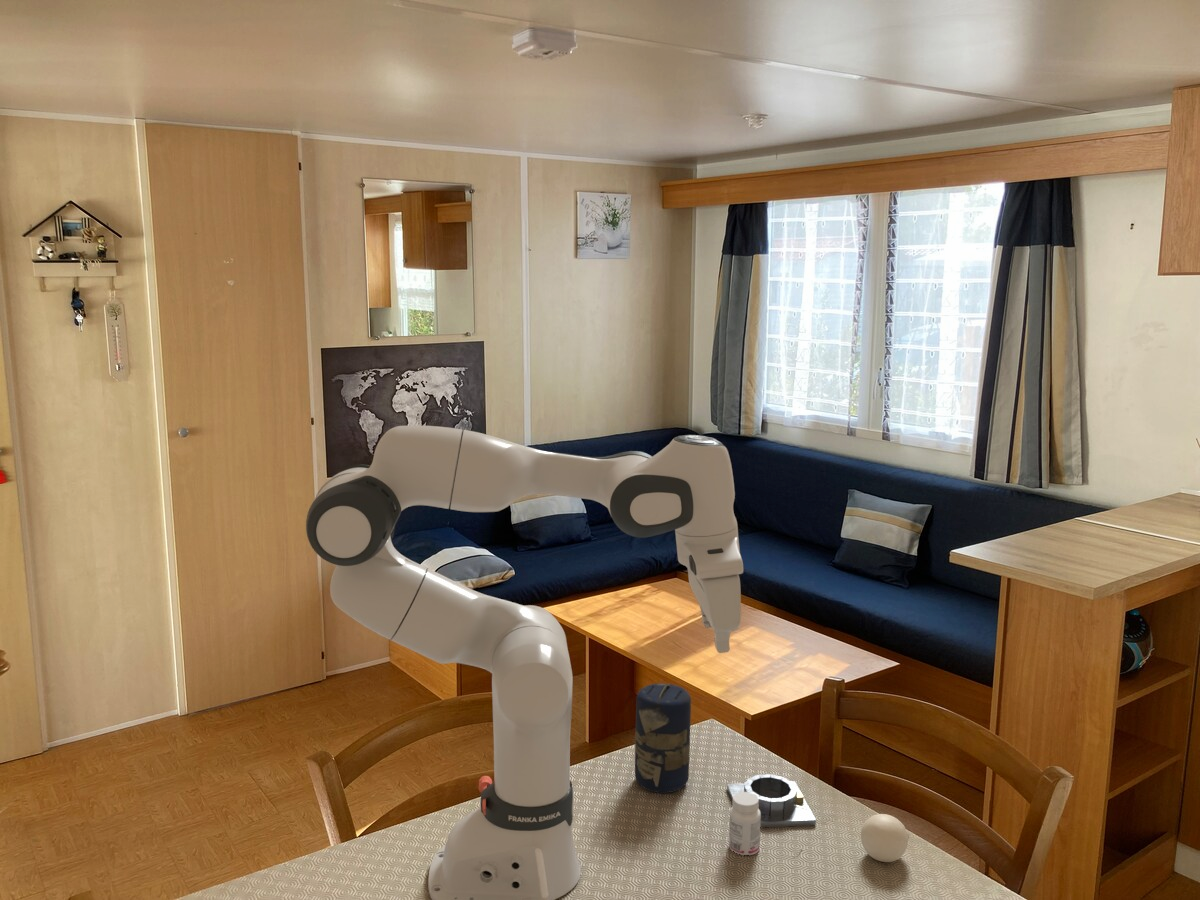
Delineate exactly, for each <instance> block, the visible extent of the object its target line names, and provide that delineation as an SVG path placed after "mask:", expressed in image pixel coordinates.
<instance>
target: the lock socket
mask: <svg viewBox="0 0 1200 900" xmlns="http://www.w3.org/2000/svg"><path fill="white" fill-rule="evenodd" d="M726 790H727V793H728V795H729V797H731V798H730V800H731V802H732V801H733V796H734V795H735V794H736V793H739V792H749V793H752V794H754V795H756V796H757V797H758V799H759V807H758V809H759V810H760V813H761V823H760V827H771V828H790V827H789V826H794V827H811V826H812V825H816V823H817V820H816V817H815V816H814V814H813V812H812V810H811V808H810V807H809V804H808V803H807V801H806V799H805V797H804V794H803V793H802V792H801V789H800V788H799V786H798V784H797V782H796V781H795V780H789V779H788V778H786V777H784V776H780V775H776V774H769V773H767V774H755V775H754V776H751V777H748V778H747V780H746V781H745V782H739V783H735V782H734V783H733V782H732V783H727V784H726ZM810 825H811V826H810Z"/></svg>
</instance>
